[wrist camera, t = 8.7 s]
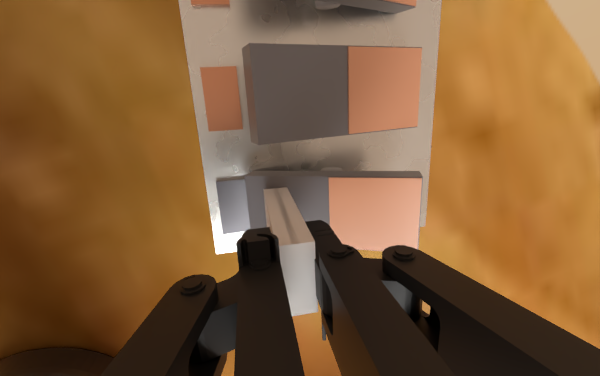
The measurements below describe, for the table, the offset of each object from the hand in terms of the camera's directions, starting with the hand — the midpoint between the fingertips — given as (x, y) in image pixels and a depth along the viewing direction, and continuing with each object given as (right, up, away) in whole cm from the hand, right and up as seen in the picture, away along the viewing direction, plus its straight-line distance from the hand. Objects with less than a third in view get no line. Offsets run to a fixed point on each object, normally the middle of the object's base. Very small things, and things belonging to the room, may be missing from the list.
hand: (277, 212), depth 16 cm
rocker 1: (+3, +6, -1) cm, 7 cm away
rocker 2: (+3, 0, +1) cm, 3 cm away
